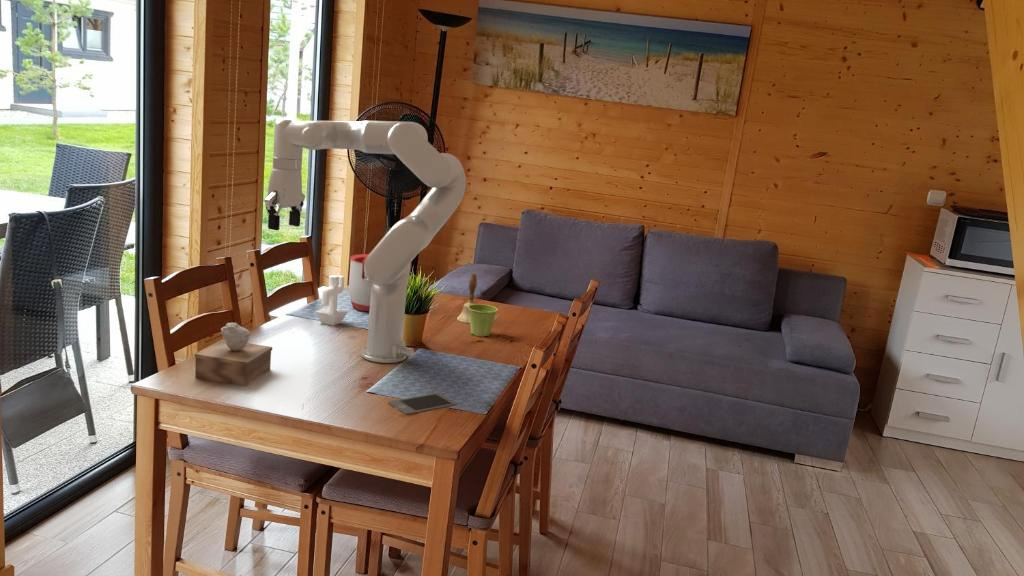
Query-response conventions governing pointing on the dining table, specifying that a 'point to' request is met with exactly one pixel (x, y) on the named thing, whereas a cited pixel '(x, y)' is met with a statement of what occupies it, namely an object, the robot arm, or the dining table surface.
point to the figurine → (332, 302)
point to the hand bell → (465, 313)
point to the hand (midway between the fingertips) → (284, 227)
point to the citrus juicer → (359, 283)
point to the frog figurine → (235, 336)
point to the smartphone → (421, 403)
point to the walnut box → (232, 363)
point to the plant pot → (481, 319)
